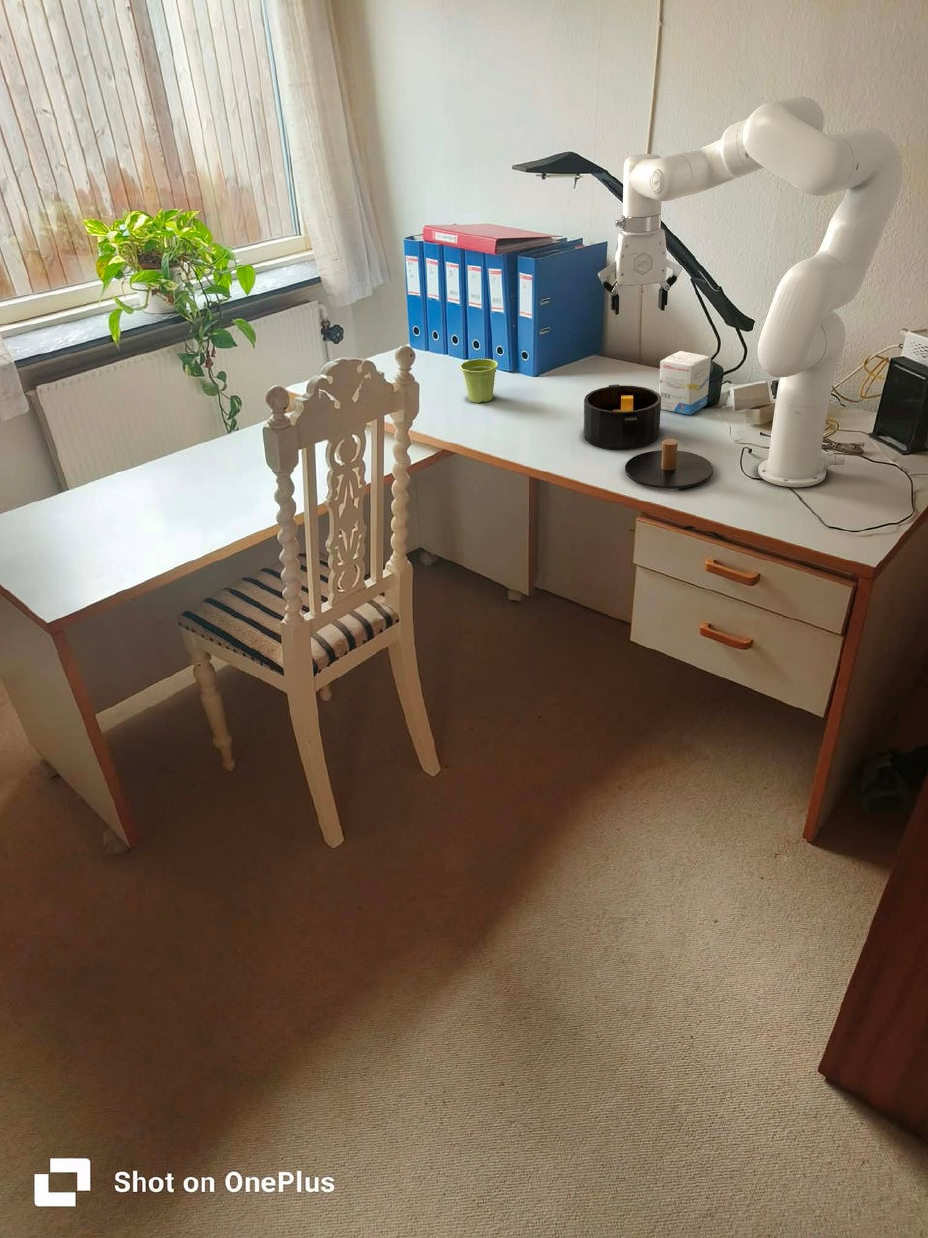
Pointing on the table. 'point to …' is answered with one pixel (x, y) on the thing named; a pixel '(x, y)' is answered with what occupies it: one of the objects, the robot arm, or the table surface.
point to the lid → (669, 468)
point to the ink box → (684, 382)
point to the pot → (621, 418)
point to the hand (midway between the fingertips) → (638, 310)
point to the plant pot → (479, 378)
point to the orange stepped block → (626, 403)
